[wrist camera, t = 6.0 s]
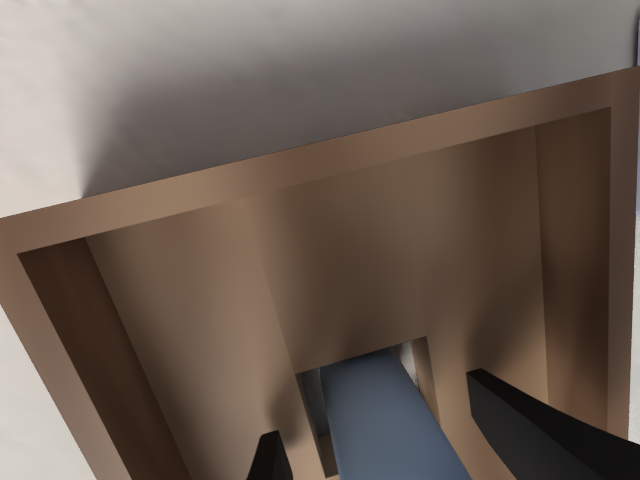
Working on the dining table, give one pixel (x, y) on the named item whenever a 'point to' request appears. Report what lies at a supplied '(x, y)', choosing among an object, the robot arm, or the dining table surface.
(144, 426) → the walnut box
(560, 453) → the robot arm
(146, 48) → the dining table surface
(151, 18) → the dining table surface
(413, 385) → the peg
